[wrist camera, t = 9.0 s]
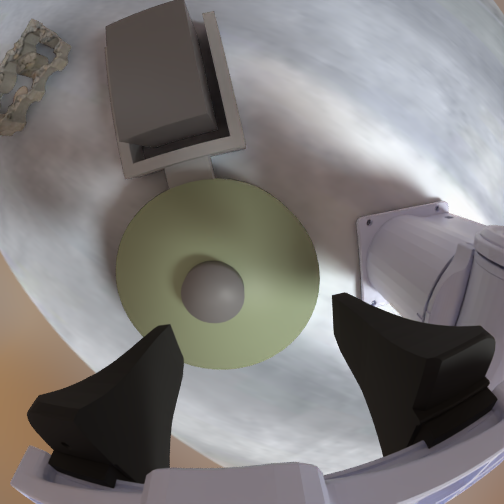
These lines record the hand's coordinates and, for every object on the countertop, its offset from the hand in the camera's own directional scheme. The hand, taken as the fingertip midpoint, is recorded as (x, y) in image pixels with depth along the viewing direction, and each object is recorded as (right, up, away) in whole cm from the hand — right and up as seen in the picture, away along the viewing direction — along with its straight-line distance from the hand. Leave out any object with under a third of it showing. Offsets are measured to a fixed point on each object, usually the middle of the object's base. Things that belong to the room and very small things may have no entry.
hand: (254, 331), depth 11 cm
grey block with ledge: (-6, +15, +5) cm, 17 cm away
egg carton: (-21, +20, +3) cm, 29 cm away
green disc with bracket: (-4, +7, +7) cm, 11 cm away
